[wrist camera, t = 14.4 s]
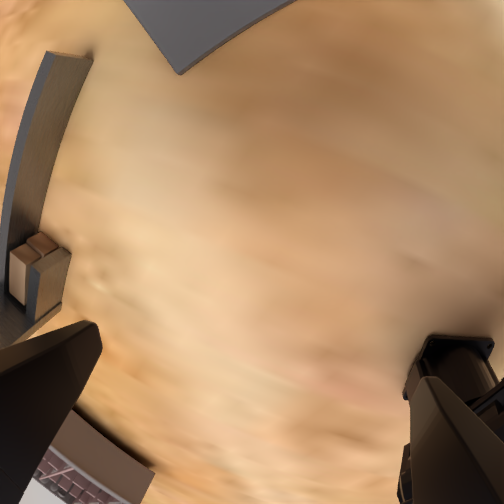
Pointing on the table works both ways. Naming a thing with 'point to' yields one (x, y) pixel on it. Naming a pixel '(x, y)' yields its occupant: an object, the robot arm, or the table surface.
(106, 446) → the organizer tray
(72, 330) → the robot arm
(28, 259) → the block
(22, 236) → the board rack
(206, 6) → the rubber mat
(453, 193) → the table surface
